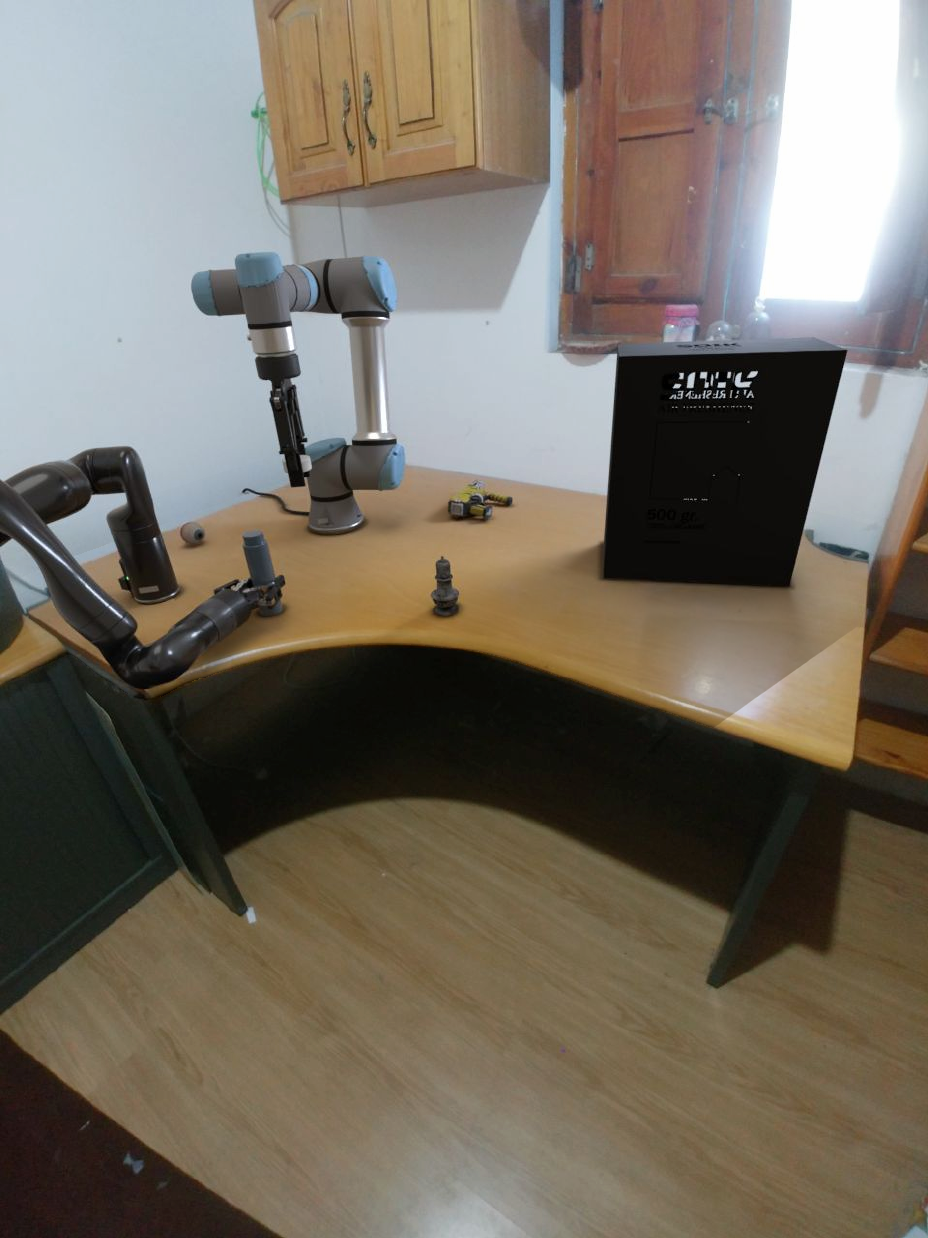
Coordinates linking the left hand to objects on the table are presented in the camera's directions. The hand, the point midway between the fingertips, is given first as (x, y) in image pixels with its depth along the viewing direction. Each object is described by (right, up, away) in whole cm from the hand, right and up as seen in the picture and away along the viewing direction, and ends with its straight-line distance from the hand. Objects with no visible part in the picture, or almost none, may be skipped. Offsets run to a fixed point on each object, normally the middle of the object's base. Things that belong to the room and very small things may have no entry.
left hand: (271, 577), depth 126 cm
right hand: (+8, +19, -8) cm, 22 cm away
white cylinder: (+8, +22, -10) cm, 25 cm away
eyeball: (-32, +11, +36) cm, 50 cm away
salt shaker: (+37, -7, -3) cm, 37 cm away
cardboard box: (+91, +4, +11) cm, 92 cm away
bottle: (0, -7, +1) cm, 7 cm away
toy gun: (+47, +24, +50) cm, 72 cm away
